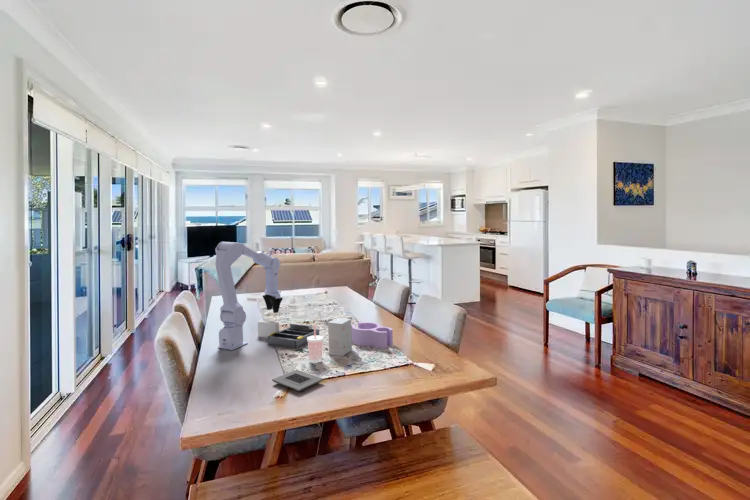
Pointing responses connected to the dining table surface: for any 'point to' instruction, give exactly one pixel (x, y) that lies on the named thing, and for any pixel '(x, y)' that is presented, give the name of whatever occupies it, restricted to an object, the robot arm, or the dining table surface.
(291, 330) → the rack
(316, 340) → the beverage cup
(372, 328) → the clip
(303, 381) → the grey picture frame
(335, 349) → the small box
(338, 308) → the dining table surface
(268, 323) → the block
